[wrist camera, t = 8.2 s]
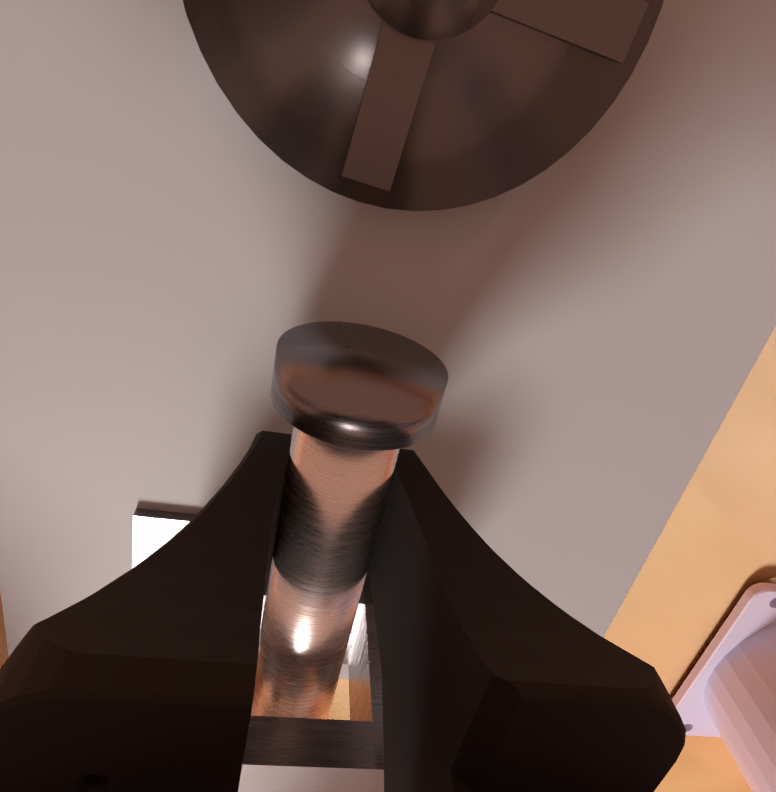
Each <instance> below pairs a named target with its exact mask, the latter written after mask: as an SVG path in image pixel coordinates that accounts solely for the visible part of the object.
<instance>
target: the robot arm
mask: <svg viewBox="0 0 776 792" xmlns="http://www.w3.org/2000/svg"><path fill="white" fill-rule="evenodd" d="M290 446H291V434H285V433H277V432H270V431H260V432H259V433H257V434H256V435H255V438H254V440H253V442H252V444H251V446H250V448H249V450H248V451H247V453H246V455H245V456H244V458H243V459H242V461H241V462H240V464H239V465H238V466H237V468H236V469H235V470H234V472H233V473H232V474H231V476H230V477H229V478H228V479H227V481H226V482H225V483H224V485H223V486H222V487H221V488H220V489H219V491H218V492H217V493H216V494H215V495H214V496H213V497H212V498H211V499H210V501H209V502H208V503H207V504H206V505H205V506H204V507H203V508H202V509H201V510H200V512H199V513H198V514H197V515H196V516H195V517H194V518H193V519H192V520H190V521H189V522H188V523H187V524H186V525H185V526H184V527H183V528H182V529H181V530H180V531H179V532H177V533H176V534H175V535H174V536H173V537H172V538H171V539H170V540H168V541H167V542H166V543H165V544H163V545H162V546H161V547H160V548H158V549H157V550H156V551H155V552H153V553H152V554H151V555H150V556H148V557H147V558H146V559H144V560H143V561H142V562H140V563H139V564H138V565H136V566H135V567H133V568H132V569H131V570H129V571H127V572H126V573H124V574H123V575H121V576H120V577H118V578H117V579H115V580H114V581H112V582H111V583H109V584H107V585H106V586H104V587H103V588H101V589H100V590H98V591H97V592H95V593H93V594H92V595H90V596H88V597H87V598H85V599H83V600H81V601H79V602H77V603H76V604H74V605H72V606H70V607H68V608H66V609H64V610H62V611H60V612H58V613H56V614H54V615H52V616H51V617H49V618H47V619H45V620H42V621H40V622H38V623H36V624H34V625H33V626H32V627H31V629H30V630H29V631H28V632H27V633H26V635H25V636H24V637H23V639H22V640H21V641H20V643H19V644H18V645H17V646H16V648H15V649H14V650H13V652H12V653H11V655H10V656H9V658H8V659H7V660H6V662H5V663H4V665H3V666H2V667H1V669H0V792H238V788H239V782H240V776H241V770H242V764H243V758H244V752H245V747H246V741H247V735H248V729H249V723H250V717H251V711H252V704H253V697H254V688H255V680H256V671H257V662H258V650H259V638H260V627H261V616H262V606H263V598H264V594H265V589H266V585H267V581H268V576H269V572H270V567H271V563H272V559H273V553H274V547H275V541H276V535H277V529H278V523H279V517H280V511H281V505H282V499H283V492H284V486H285V480H286V474H287V468H288V462H289V456H290ZM368 570H369V578H370V585H371V593H372V601H373V608H374V615H375V623H376V630H377V638H378V645H379V652H380V662H381V674H382V702H383V746H384V792H654V790H655V789H656V788H657V786H658V785H659V784H660V782H661V781H662V780H663V778H664V777H665V775H666V774H667V773H668V771H669V770H670V769H671V767H672V766H673V765H674V763H675V762H676V760H677V758H678V756H679V754H680V753H681V751H682V749H683V747H684V744H685V736H686V735H692V736H711V737H721V738H722V739H723V741H724V743H725V745H726V747H727V748H728V750H729V752H730V754H731V755H732V757H733V759H734V761H735V762H736V764H737V766H738V768H739V769H740V771H741V773H742V775H743V776H744V778H745V780H746V782H747V783H748V785H749V787H750V789H751V790H752V792H776V584H775V583H764V582H763V583H756V584H754V585H752V586H750V587H749V588H748V589H747V590H746V591H745V593H744V594H743V595H742V597H741V598H740V600H739V601H738V603H737V604H736V606H735V607H734V609H733V610H732V612H731V613H730V615H729V616H728V618H727V619H726V620H725V622H724V623H723V625H722V626H721V628H720V629H719V631H718V632H717V634H716V635H715V637H714V638H713V640H712V641H711V643H710V644H709V645H708V647H707V648H706V650H705V651H704V653H703V654H702V656H701V657H700V659H699V660H698V662H697V663H696V665H695V666H694V668H693V669H692V670H691V672H690V673H689V675H688V676H687V678H686V679H685V681H684V682H683V684H682V685H681V687H680V688H679V690H678V691H677V693H676V694H675V696H674V697H673V698H672V699H671V697H670V695H669V693H668V691H667V690H666V688H665V686H664V684H663V682H662V680H661V679H660V677H659V675H658V674H657V672H656V670H655V668H654V667H652V666H651V665H649V664H647V663H646V662H644V661H642V660H640V659H639V658H637V657H635V656H634V655H632V654H630V653H628V652H627V651H625V650H623V649H622V648H620V647H618V646H616V645H615V644H613V643H611V642H609V641H608V640H606V639H604V638H603V637H601V636H600V635H598V634H597V633H595V632H594V631H592V630H591V629H589V628H588V627H586V626H585V625H583V624H582V623H580V622H579V621H577V620H576V619H574V618H573V617H572V616H570V615H569V614H567V613H566V612H565V611H563V610H562V609H561V608H559V607H558V606H557V605H555V604H554V603H553V602H551V601H550V600H549V599H548V598H546V597H545V596H544V595H543V594H541V593H540V592H539V591H538V590H536V589H535V588H534V587H533V586H531V585H530V584H529V583H528V582H527V581H526V580H524V579H523V578H522V577H521V576H520V575H519V574H517V573H516V572H515V571H514V570H513V569H512V568H511V567H510V566H509V565H508V564H507V563H506V562H505V561H504V560H503V559H502V558H501V557H500V556H498V555H497V554H496V553H495V552H494V551H493V550H492V549H491V548H490V546H489V545H488V544H487V543H486V542H485V541H484V540H483V539H482V538H481V537H480V536H479V535H478V533H477V532H476V531H475V530H474V529H473V528H472V527H471V526H470V524H469V523H468V522H467V521H466V520H465V519H464V517H463V516H462V515H461V514H460V512H459V511H458V510H457V509H456V507H455V506H454V505H453V504H452V502H451V501H450V500H449V498H448V497H447V496H446V495H445V493H444V492H443V491H442V489H441V488H440V486H439V485H438V484H437V482H436V481H435V480H434V478H433V477H432V475H431V474H430V473H429V471H428V470H427V468H426V467H425V465H424V464H423V463H422V461H421V460H420V458H419V457H418V456H417V454H416V453H415V451H414V450H407V449H399V453H398V457H397V461H396V465H395V468H394V472H393V476H392V480H391V483H390V487H389V491H388V495H387V498H386V502H385V506H384V510H383V513H382V517H381V521H380V525H379V528H378V532H377V536H376V540H375V543H374V547H373V551H372V555H371V559H370V562H369V566H368Z"/></svg>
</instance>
